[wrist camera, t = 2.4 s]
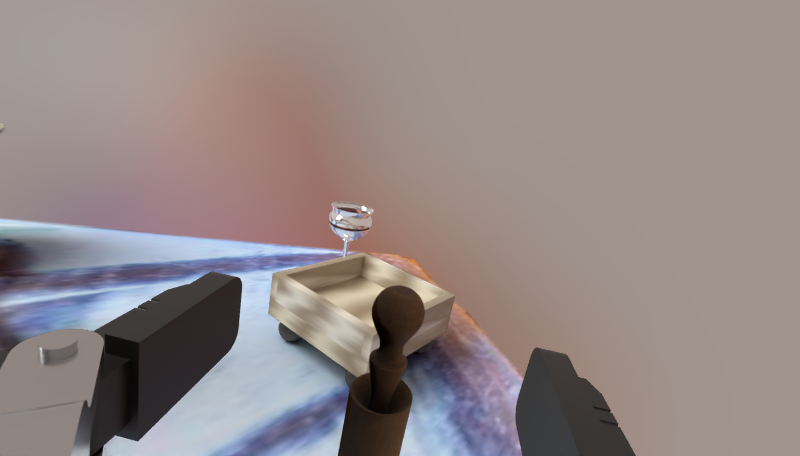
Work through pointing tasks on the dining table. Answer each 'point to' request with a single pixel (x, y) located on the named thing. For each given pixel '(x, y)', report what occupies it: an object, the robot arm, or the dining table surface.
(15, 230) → the dining table surface
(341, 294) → the cart
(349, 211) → the wineglass
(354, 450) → the mortar and pestle
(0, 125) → the canister
